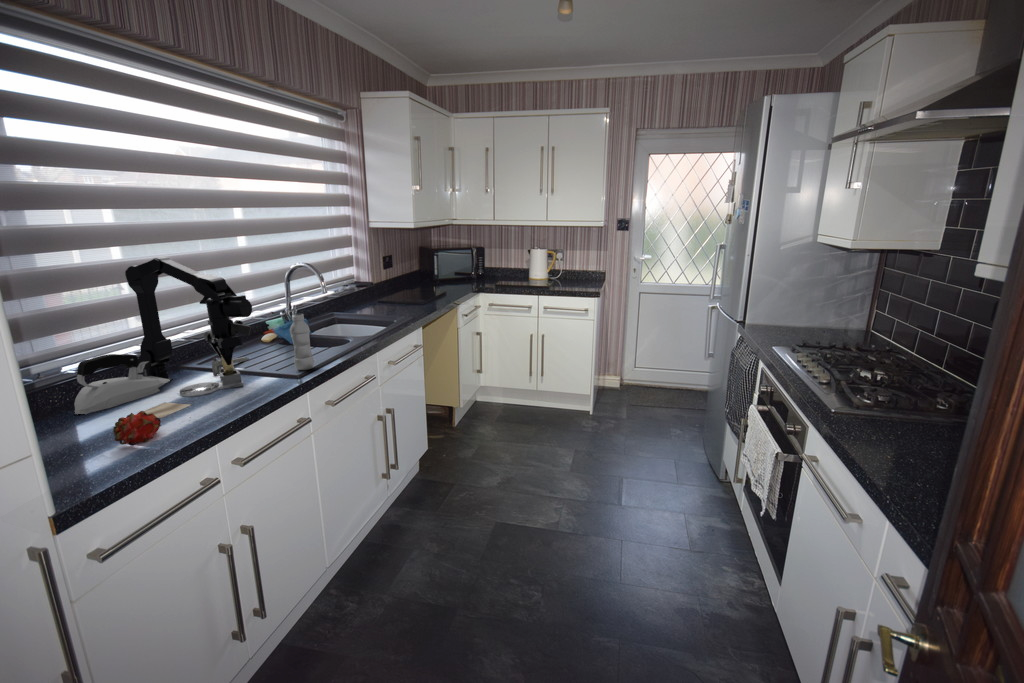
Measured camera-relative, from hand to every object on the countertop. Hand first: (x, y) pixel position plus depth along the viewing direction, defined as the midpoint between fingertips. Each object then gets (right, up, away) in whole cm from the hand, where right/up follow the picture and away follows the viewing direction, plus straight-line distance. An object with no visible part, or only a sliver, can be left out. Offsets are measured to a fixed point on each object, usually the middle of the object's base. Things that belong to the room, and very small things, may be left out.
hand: (227, 363), depth 169 cm
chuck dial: (-4, -8, -2) cm, 9 cm away
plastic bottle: (+19, -3, +16) cm, 25 cm away
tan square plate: (-8, -13, -20) cm, 25 cm away
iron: (-27, -11, -10) cm, 31 cm away
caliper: (-10, -2, +22) cm, 25 cm away
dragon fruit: (0, -18, -39) cm, 43 cm away
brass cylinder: (+1, -5, 0) cm, 5 cm away
